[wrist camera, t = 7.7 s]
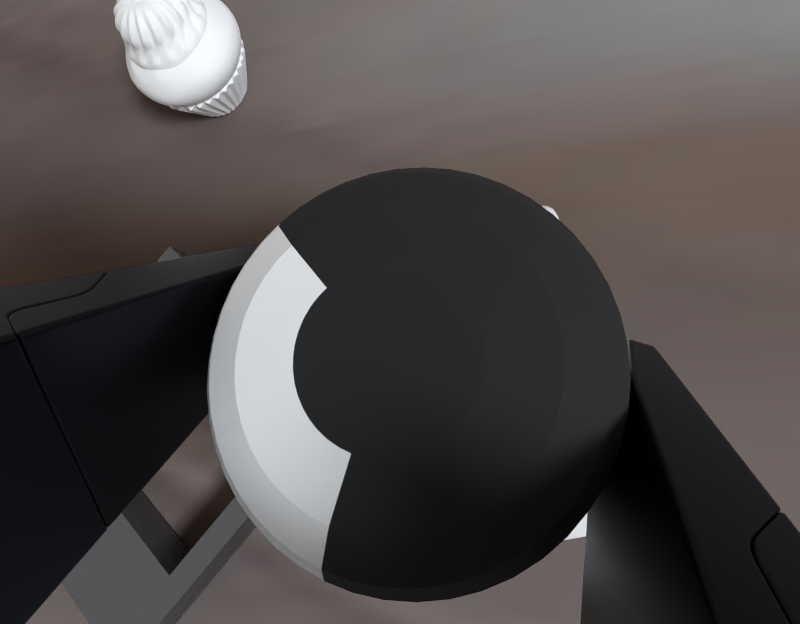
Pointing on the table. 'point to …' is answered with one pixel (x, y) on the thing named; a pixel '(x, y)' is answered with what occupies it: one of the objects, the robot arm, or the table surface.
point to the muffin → (184, 53)
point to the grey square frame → (151, 561)
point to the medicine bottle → (418, 384)
